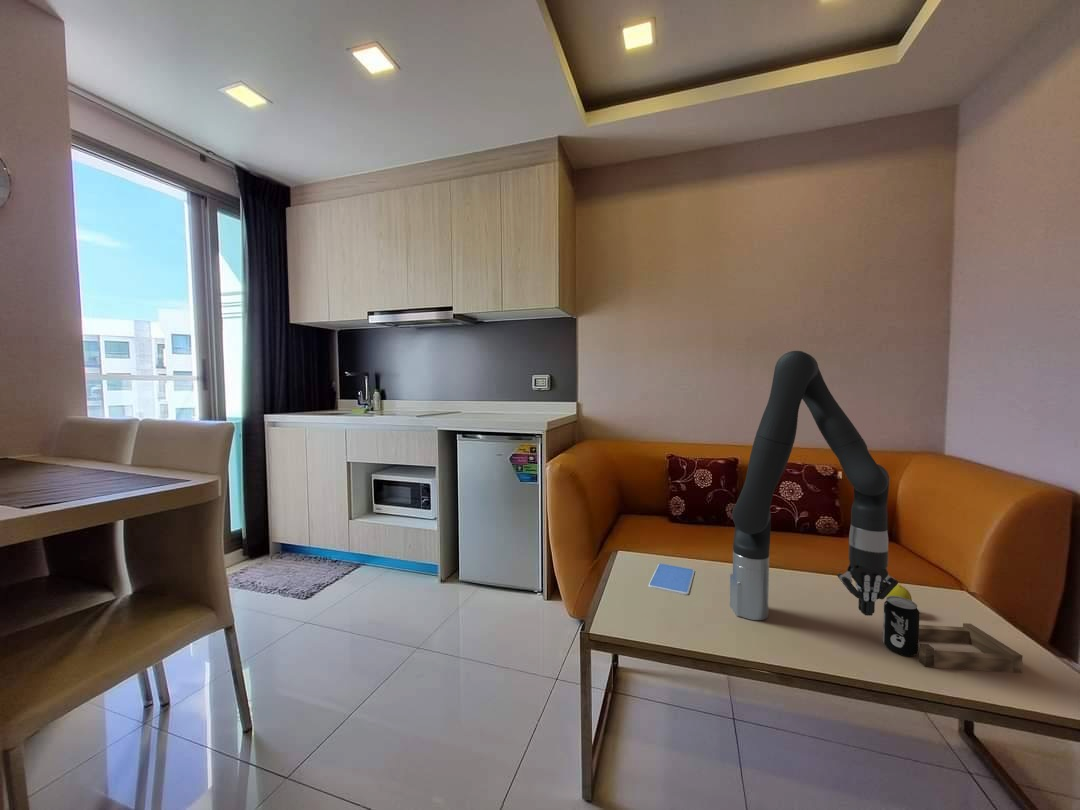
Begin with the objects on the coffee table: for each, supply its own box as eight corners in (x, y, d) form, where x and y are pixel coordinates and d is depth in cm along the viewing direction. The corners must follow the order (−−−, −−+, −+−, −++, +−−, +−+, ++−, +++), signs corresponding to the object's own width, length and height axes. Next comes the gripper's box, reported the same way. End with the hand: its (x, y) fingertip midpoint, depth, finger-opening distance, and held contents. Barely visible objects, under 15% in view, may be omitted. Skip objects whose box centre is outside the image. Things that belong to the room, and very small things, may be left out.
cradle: (925, 666, 95) (925, 648, 95) (886, 634, 108) (886, 617, 108) (1021, 672, 93) (1022, 653, 93) (970, 638, 106) (970, 622, 106)
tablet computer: (658, 565, 151) (658, 562, 151) (695, 572, 146) (695, 568, 146) (647, 589, 134) (647, 585, 134) (688, 597, 129) (688, 593, 128)
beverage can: (925, 659, 98) (926, 610, 97) (893, 656, 99) (894, 607, 99) (906, 642, 104) (908, 596, 104) (876, 639, 106) (878, 593, 105)
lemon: (880, 607, 121) (881, 580, 120) (898, 606, 121) (899, 579, 121) (898, 618, 115) (899, 590, 115) (916, 616, 116) (917, 589, 115)
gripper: (848, 550, 98) (846, 621, 99) (909, 552, 97) (907, 624, 98) (830, 538, 106) (828, 604, 107) (886, 540, 104) (884, 607, 105)
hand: (866, 613), depth 102 cm, fingers closed
